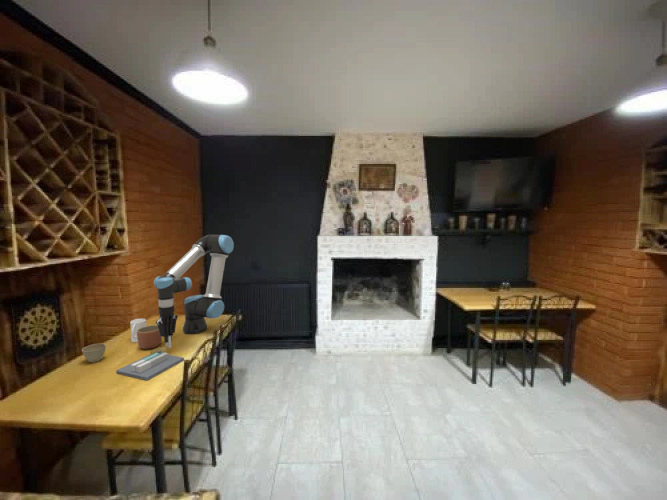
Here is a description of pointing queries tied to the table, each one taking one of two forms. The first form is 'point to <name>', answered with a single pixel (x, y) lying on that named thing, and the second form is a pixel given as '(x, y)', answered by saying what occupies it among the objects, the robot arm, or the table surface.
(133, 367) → the tong arm
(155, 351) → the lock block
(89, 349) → the grey bowl
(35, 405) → the table surface
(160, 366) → the board
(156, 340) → the planter
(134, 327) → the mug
